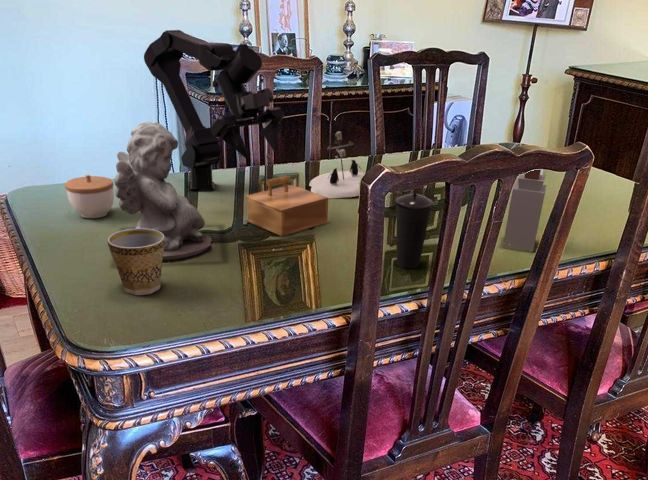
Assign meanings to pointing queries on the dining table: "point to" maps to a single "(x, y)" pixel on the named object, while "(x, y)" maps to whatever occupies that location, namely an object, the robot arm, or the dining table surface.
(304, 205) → the lid
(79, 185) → the trinket box
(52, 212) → the dining table surface
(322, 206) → the chest
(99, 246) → the dining table surface
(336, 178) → the figurine
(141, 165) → the angel statue
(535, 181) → the perfume bottle
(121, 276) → the ceramic cup
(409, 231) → the drinking cup
